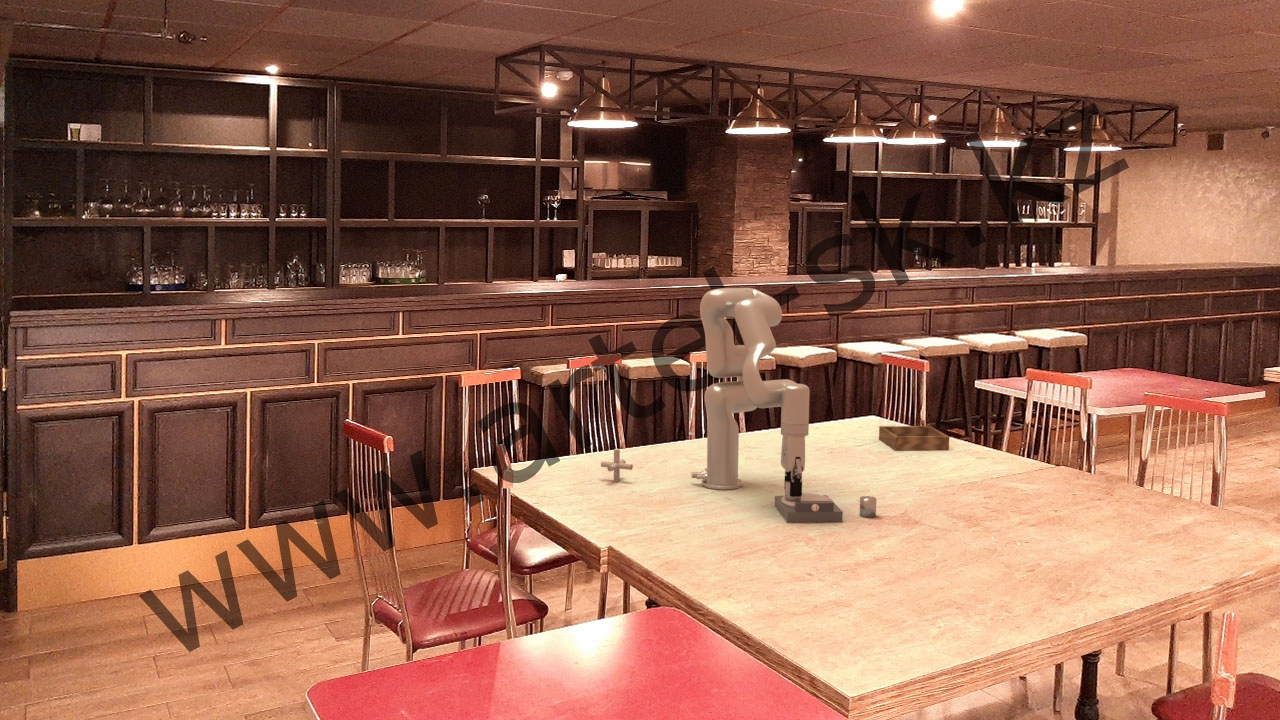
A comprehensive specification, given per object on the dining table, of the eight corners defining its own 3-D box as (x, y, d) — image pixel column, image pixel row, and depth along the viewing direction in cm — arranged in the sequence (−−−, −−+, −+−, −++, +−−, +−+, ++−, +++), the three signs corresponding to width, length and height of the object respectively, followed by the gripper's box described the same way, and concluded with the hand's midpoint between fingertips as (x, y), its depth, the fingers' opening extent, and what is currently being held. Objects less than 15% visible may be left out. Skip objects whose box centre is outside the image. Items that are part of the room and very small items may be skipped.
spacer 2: (861, 518, 279) (862, 500, 279) (857, 513, 284) (858, 496, 283) (877, 518, 280) (878, 500, 279) (873, 513, 284) (873, 495, 283)
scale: (787, 522, 274) (787, 503, 274) (774, 505, 292) (774, 487, 291) (842, 522, 276) (843, 503, 275) (826, 504, 293) (827, 486, 292)
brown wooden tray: (895, 450, 363) (895, 437, 363) (878, 439, 383) (879, 426, 382) (948, 450, 365) (949, 436, 364) (929, 439, 384) (930, 426, 383)
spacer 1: (786, 501, 282) (786, 484, 281) (783, 497, 286) (783, 480, 285) (802, 501, 282) (802, 484, 281) (798, 497, 286) (799, 480, 286)
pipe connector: (595, 483, 315) (595, 451, 314) (608, 476, 324) (608, 445, 323) (625, 486, 311) (625, 454, 310) (637, 479, 320) (637, 447, 319)
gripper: (774, 423, 290) (773, 485, 292) (787, 435, 272) (786, 501, 275) (801, 422, 290) (799, 484, 292) (815, 435, 273) (813, 501, 275)
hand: (792, 492), depth 284 cm, fingers open, 6 cm apart
